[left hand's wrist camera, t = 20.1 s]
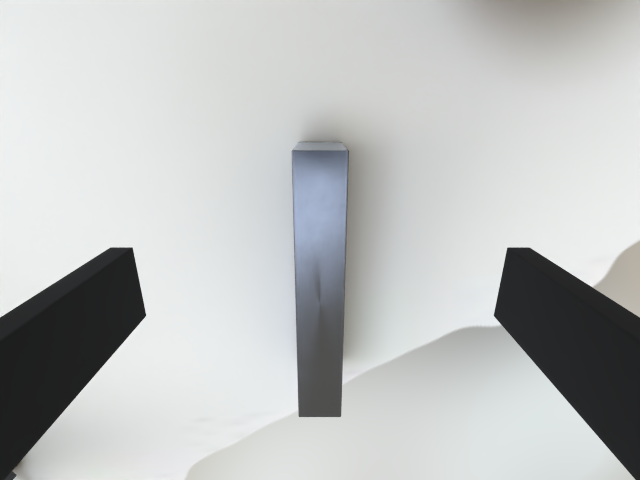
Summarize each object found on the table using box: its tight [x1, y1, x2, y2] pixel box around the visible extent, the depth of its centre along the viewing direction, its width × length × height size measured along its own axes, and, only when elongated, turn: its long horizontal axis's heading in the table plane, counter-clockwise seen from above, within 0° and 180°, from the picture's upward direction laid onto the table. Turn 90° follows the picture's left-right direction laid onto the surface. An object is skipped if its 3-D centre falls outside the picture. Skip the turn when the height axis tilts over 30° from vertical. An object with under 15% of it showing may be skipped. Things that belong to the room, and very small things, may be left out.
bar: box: [292, 142, 349, 417], centre depth 35 cm, size 27×4×9 cm, turn 0°
